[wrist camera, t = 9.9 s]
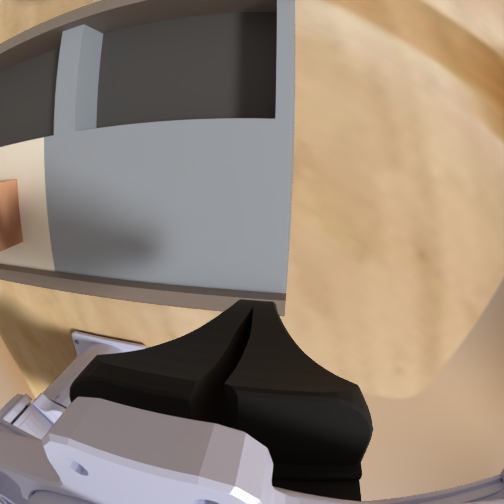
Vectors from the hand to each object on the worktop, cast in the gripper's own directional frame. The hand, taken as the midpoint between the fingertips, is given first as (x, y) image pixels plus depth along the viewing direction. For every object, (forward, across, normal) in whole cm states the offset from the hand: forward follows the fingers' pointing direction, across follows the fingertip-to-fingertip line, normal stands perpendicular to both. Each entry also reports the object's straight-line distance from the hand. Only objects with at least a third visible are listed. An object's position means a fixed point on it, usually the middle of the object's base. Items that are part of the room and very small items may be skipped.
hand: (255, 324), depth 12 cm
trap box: (+10, +14, -7) cm, 19 cm away
